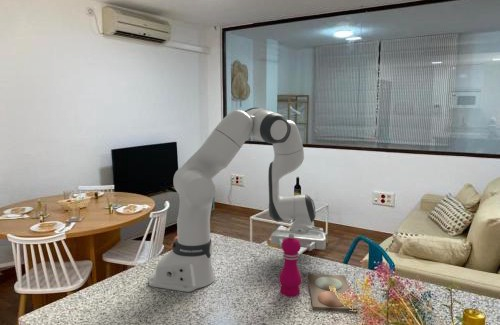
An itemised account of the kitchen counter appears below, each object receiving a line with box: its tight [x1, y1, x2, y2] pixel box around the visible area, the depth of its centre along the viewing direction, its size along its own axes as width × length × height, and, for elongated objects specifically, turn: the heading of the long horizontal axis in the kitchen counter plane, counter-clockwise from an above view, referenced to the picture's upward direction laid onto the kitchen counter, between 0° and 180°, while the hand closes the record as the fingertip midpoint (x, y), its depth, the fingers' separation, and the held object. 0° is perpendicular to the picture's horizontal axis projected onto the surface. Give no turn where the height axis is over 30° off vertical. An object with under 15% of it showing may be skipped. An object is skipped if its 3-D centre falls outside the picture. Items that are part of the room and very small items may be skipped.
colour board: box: [306, 273, 358, 312], centre depth 121 cm, size 13×22×1 cm, turn 175°
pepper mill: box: [278, 233, 302, 298], centre depth 119 cm, size 7×7×20 cm
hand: (295, 247), depth 130 cm, fingers open, 8 cm apart
